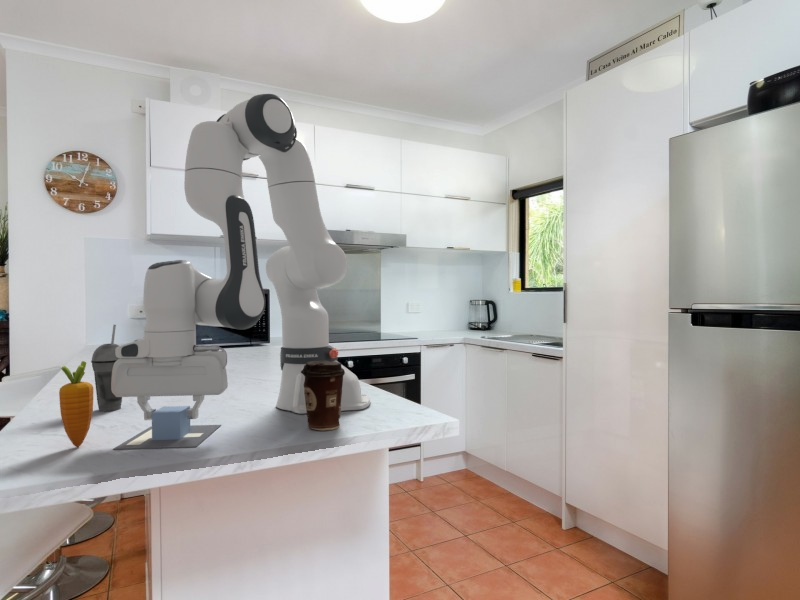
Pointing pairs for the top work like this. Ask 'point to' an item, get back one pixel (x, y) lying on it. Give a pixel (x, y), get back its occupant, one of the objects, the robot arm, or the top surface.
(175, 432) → the slate cube
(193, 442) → the letter mat
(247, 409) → the top surface
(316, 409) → the coffee cup
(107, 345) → the beverage cup
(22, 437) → the top surface
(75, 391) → the carrot
